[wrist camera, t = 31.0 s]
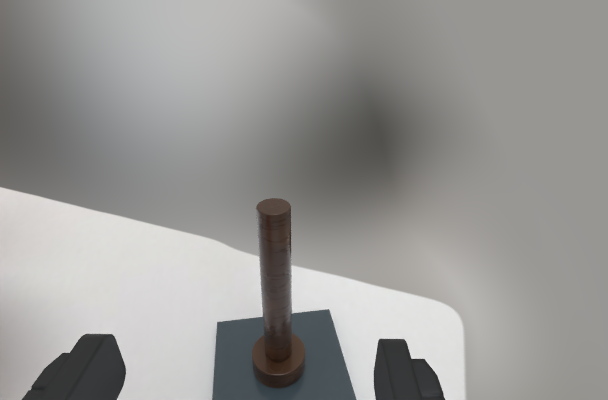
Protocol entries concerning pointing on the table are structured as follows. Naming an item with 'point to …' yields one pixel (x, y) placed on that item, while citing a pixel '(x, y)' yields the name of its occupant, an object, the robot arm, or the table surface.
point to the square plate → (317, 373)
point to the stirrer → (276, 300)
